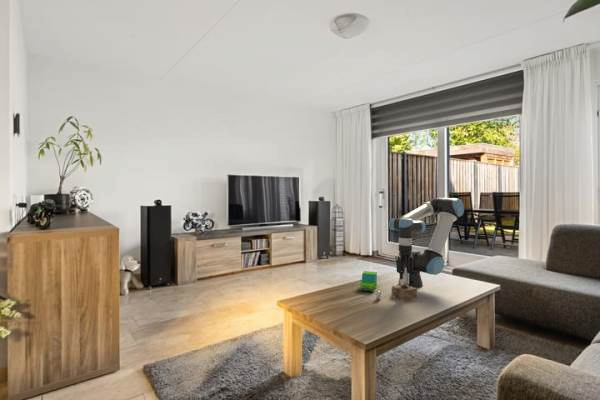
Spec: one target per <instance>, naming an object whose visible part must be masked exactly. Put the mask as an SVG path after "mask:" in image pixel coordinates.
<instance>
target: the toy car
mask: <svg viewBox="0 0 600 400" xmlns="http://www.w3.org/2000/svg"><path fill="white" fill-rule="evenodd" d="M377 274H378V272H377V271H370V270H369V271H367V270H364V271H363V272H362V276H361V279H360V285H359V286H360V289H359V290H360V291H365V292H366V291H368V292H372V293H374V292H375V289H376V288H377V287H378V286H377V283H378V282H377V281H378V280H377V279H378V278H377V277H378V275H377Z"/></svg>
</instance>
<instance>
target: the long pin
mask: <svg viewBox="0 0 600 400" xmlns="http://www.w3.org/2000/svg"><path fill="white" fill-rule="evenodd" d="M403 274H405V276H404V285H402V288H404V289H405V288H407V267H404V273H403Z"/></svg>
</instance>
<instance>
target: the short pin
mask: <svg viewBox="0 0 600 400" xmlns="http://www.w3.org/2000/svg"><path fill="white" fill-rule="evenodd" d="M375 293H376V295H375V297H376V299H375V300H376V301H378V302H380V301H381V297H382V296H381V295H382V294H381V293H382V292H381V291H380V290H376V291H375Z"/></svg>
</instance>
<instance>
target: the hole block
mask: <svg viewBox="0 0 600 400" xmlns="http://www.w3.org/2000/svg"><path fill="white" fill-rule="evenodd" d="M391 297H394V298H396V299H398V300H400V301H403V302H406V301H411V300H416V299H417V298H418V288H414V287H412V286H409V285H407V288H405V289H404V288H402V284H401V285H400V284H395V285H392V286H391Z"/></svg>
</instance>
